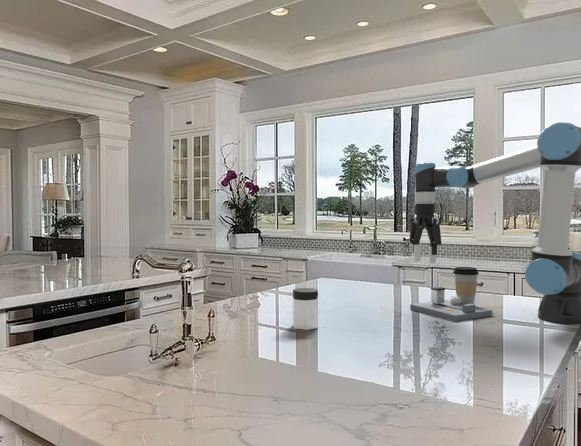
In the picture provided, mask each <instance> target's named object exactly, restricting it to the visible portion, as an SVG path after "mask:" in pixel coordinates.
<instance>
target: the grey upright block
mask: <svg viewBox="0 0 581 446" xmlns="http://www.w3.org/2000/svg"><path fill="white" fill-rule="evenodd" d="M430 290H431V297H430V299H431V301H430V302H431V303H435V304H441V303H444V300H445V291H446V287H443V286H430Z"/></svg>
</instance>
